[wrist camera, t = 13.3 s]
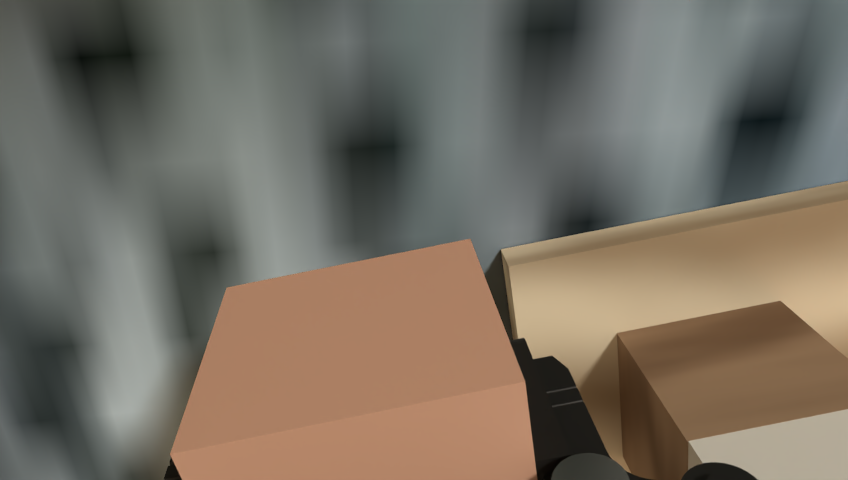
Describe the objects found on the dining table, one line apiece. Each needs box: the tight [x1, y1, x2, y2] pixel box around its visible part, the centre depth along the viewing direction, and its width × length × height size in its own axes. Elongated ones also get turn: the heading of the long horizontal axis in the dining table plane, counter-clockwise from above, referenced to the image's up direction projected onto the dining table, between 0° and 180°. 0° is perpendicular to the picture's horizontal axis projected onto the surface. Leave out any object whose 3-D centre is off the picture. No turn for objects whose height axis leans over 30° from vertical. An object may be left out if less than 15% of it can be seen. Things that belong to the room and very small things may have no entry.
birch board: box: [501, 181, 848, 473], centre depth 23 cm, size 12×12×1 cm
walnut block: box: [617, 301, 848, 480], centre depth 20 cm, size 6×6×5 cm
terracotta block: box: [170, 239, 537, 480], centre depth 13 cm, size 6×6×5 cm
